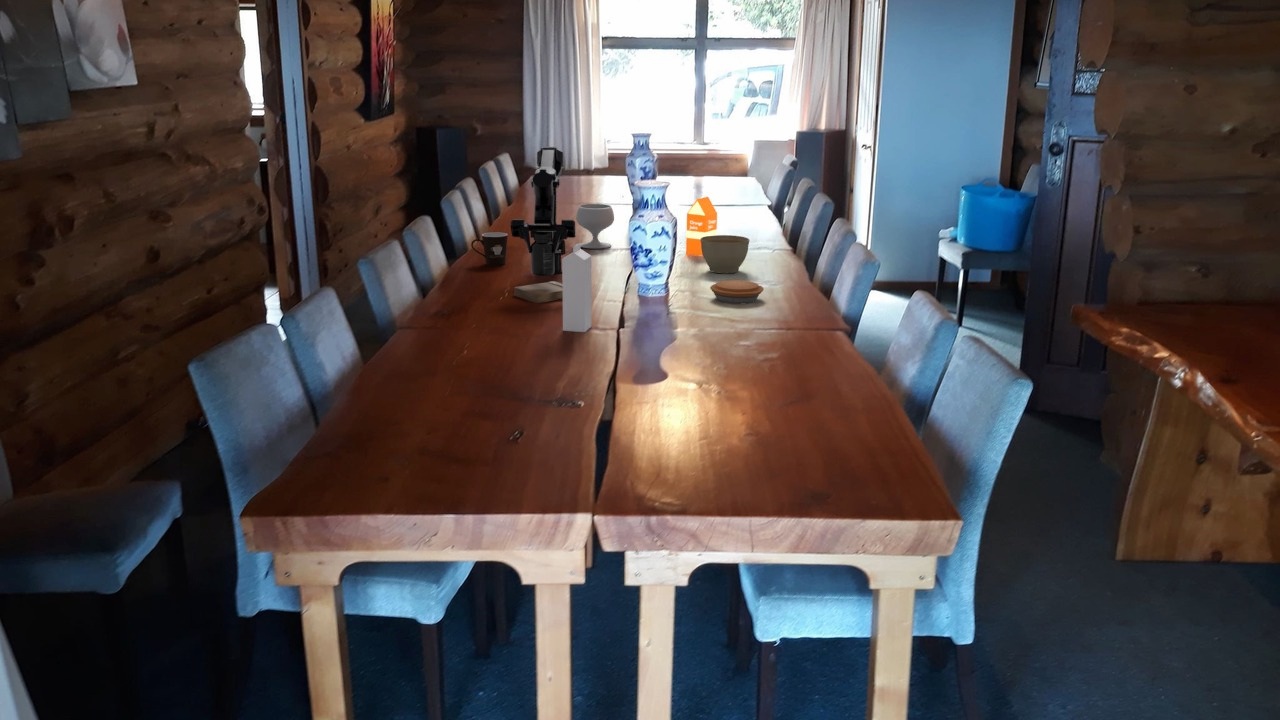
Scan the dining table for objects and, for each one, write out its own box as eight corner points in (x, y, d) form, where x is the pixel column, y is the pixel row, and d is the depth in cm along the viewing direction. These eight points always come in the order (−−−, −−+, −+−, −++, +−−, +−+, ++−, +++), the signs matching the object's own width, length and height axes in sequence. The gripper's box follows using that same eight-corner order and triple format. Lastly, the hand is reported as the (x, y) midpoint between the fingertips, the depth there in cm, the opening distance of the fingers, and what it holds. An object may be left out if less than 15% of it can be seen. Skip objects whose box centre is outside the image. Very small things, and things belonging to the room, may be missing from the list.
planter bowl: (748, 267, 345) (749, 235, 342) (748, 277, 330) (749, 243, 327) (700, 265, 347) (701, 233, 344) (698, 275, 331) (699, 242, 328)
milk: (562, 331, 263) (561, 246, 257) (570, 325, 269) (568, 242, 262) (585, 332, 262) (584, 247, 255) (592, 326, 267) (591, 243, 261)
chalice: (592, 241, 388) (592, 202, 384) (621, 246, 381) (621, 205, 376) (568, 247, 377) (568, 206, 373) (598, 251, 370) (598, 210, 365)
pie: (699, 299, 299) (699, 282, 298) (731, 291, 310) (732, 275, 309) (741, 308, 289) (741, 291, 288) (773, 299, 300) (774, 283, 298)
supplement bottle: (555, 271, 302) (555, 231, 298) (553, 276, 296) (553, 235, 292) (531, 271, 302) (531, 231, 298) (529, 276, 295) (529, 235, 292)
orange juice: (716, 252, 370) (718, 197, 364) (704, 256, 363) (706, 200, 357) (697, 250, 374) (698, 195, 368) (685, 254, 367) (686, 198, 361)
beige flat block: (553, 289, 309) (553, 280, 308) (576, 296, 300) (576, 287, 299) (514, 295, 301) (513, 286, 300) (536, 303, 292) (536, 293, 291)
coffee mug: (510, 261, 349) (510, 232, 346) (505, 266, 341) (504, 237, 338) (477, 260, 350) (476, 231, 347) (471, 265, 342) (470, 236, 339)
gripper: (576, 224, 310) (575, 267, 303) (515, 223, 310) (512, 267, 302) (575, 202, 300) (574, 246, 293) (511, 201, 300) (508, 246, 292)
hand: (542, 252), depth 295 cm, fingers closed on supplement bottle, 7 cm apart
